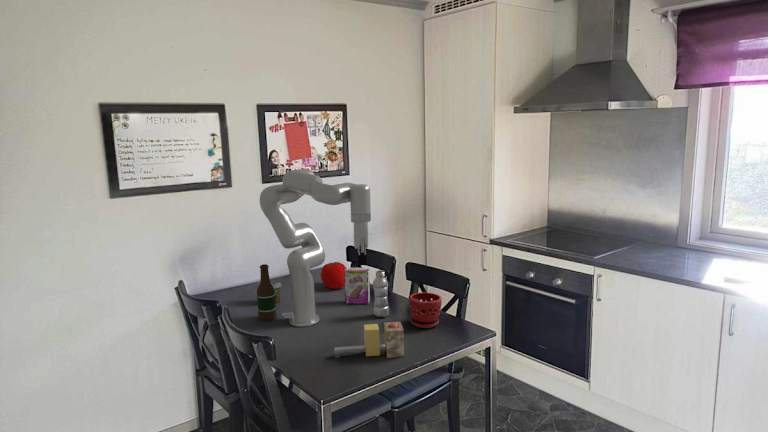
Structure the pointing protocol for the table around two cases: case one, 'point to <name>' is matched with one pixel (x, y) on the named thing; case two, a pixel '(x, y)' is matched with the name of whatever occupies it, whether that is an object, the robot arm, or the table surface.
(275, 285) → the food container
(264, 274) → the beer bottle
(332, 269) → the tomato
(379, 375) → the table surface
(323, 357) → the table surface
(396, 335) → the beige mottled box
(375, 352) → the yellow block
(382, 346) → the rail
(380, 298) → the plastic bottle
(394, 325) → the button
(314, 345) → the table surface
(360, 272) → the candy bar box
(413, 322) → the plant pot
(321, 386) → the table surface
